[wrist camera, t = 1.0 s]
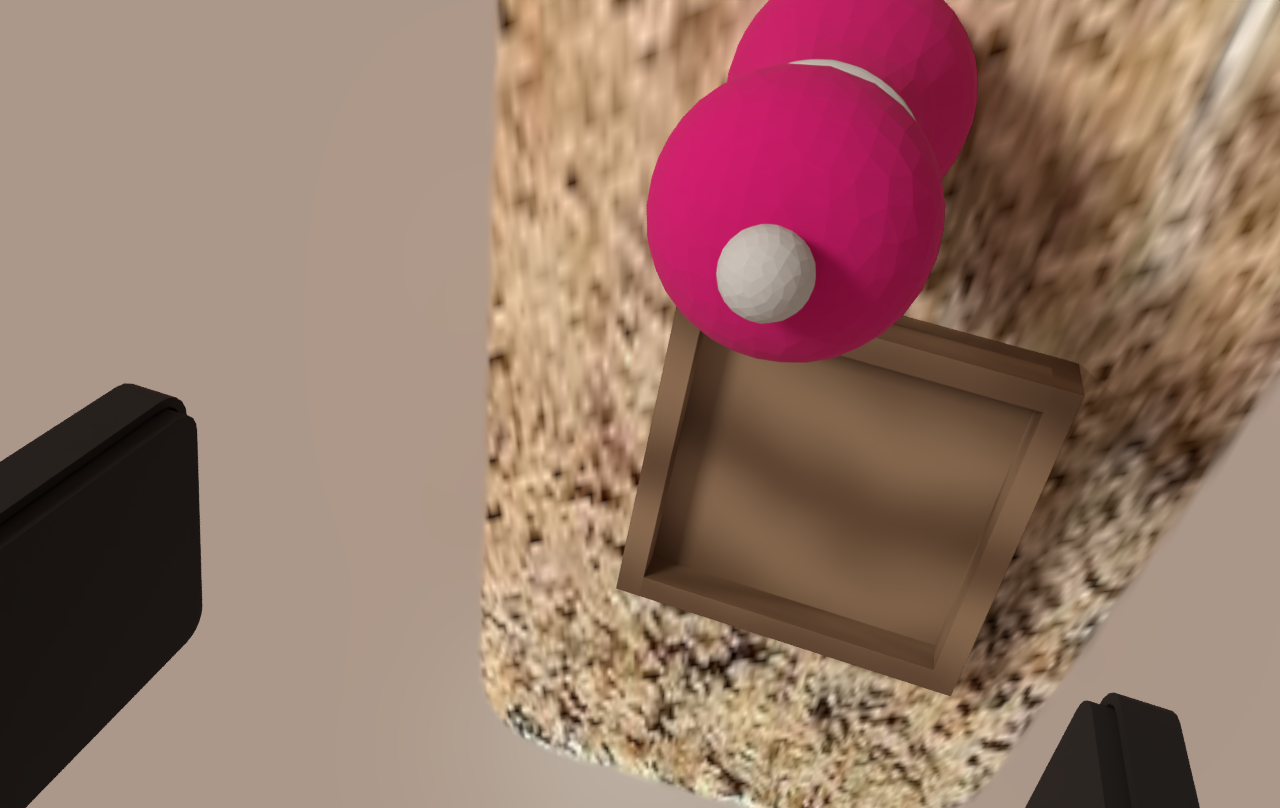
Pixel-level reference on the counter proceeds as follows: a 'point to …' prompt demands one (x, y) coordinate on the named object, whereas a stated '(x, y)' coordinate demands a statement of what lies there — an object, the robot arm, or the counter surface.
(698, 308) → the pepper mill
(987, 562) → the tray
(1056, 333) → the counter surface
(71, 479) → the robot arm
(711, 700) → the counter surface
